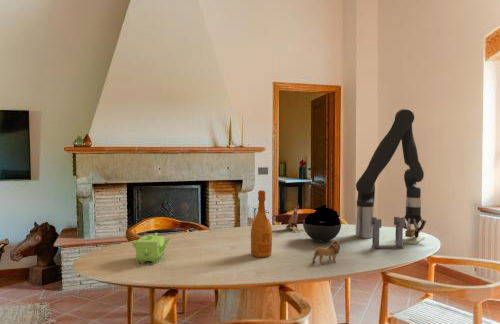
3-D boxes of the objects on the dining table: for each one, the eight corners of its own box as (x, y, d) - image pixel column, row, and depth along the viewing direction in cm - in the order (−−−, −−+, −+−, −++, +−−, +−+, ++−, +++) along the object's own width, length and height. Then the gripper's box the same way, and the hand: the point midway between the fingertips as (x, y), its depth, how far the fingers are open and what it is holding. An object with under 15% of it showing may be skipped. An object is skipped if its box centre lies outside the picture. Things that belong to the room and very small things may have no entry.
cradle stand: (375, 250, 181) (376, 219, 180) (370, 246, 187) (370, 217, 187) (404, 249, 182) (405, 219, 182) (398, 246, 189) (399, 216, 188)
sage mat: (415, 244, 192) (415, 243, 192) (399, 241, 197) (399, 240, 197) (424, 238, 205) (424, 237, 205) (409, 235, 210) (409, 234, 210)
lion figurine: (334, 258, 167) (335, 238, 167) (343, 261, 163) (343, 241, 162) (308, 263, 160) (308, 242, 160) (316, 266, 156) (316, 245, 155)
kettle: (157, 253, 173) (157, 229, 172) (174, 260, 163) (174, 235, 162) (126, 260, 162) (126, 234, 162) (143, 268, 152) (143, 241, 152)
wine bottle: (257, 259, 165) (257, 192, 164) (246, 253, 174) (247, 189, 172) (275, 256, 169) (276, 191, 168) (265, 251, 178) (265, 188, 177)
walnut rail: (411, 237, 194) (411, 231, 194) (405, 236, 196) (405, 231, 196) (419, 232, 206) (419, 227, 206) (414, 231, 208) (414, 226, 207)
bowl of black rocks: (325, 248, 183) (325, 210, 182) (294, 240, 198) (295, 205, 197) (348, 241, 196) (349, 206, 195) (318, 235, 211) (318, 202, 210)
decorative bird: (280, 230, 206) (276, 204, 211) (268, 236, 222) (264, 211, 227) (324, 227, 216) (319, 202, 221) (309, 232, 232) (305, 209, 237)
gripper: (429, 206, 199) (428, 238, 199) (402, 203, 208) (401, 234, 208) (425, 207, 193) (424, 240, 194) (397, 205, 202) (397, 236, 203)
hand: (412, 237), depth 201 cm, fingers closed on walnut rail, 3 cm apart
